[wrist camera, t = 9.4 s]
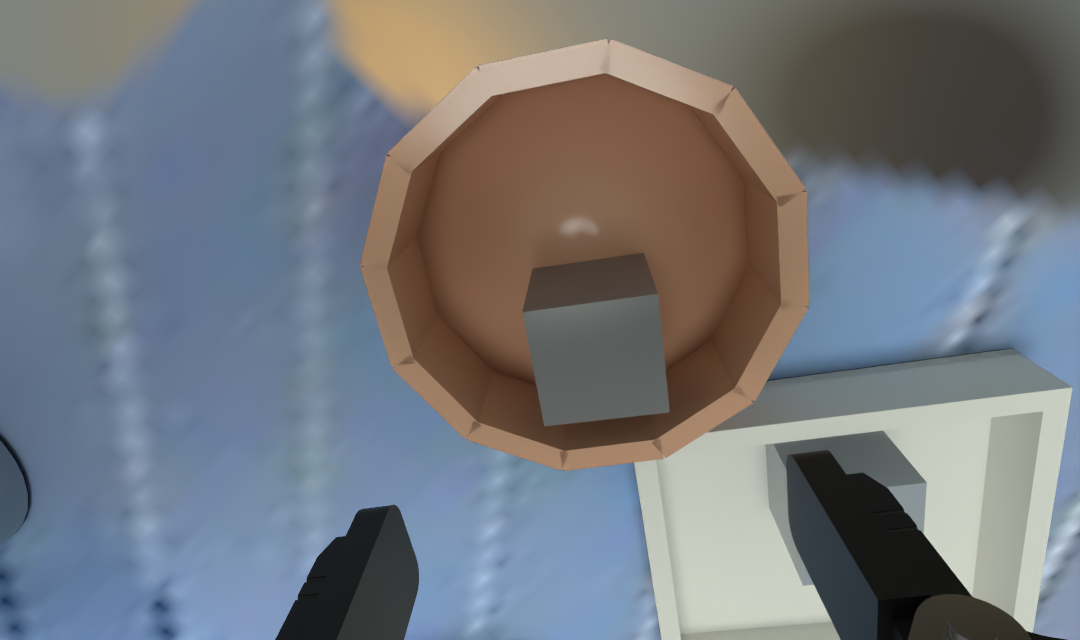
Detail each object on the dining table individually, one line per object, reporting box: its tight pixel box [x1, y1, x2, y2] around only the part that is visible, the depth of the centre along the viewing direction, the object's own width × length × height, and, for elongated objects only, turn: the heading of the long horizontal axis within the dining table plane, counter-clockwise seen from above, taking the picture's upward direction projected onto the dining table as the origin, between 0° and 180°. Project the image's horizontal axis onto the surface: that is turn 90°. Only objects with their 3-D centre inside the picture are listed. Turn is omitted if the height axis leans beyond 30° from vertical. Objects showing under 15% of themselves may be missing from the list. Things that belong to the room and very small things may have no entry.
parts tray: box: [634, 349, 1073, 640], centre depth 25 cm, size 15×14×3 cm
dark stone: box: [522, 253, 670, 426], centre depth 20 cm, size 4×4×4 cm
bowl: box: [360, 39, 809, 471], centre depth 20 cm, size 13×13×4 cm
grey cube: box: [766, 431, 927, 586], centre depth 23 cm, size 4×4×4 cm
